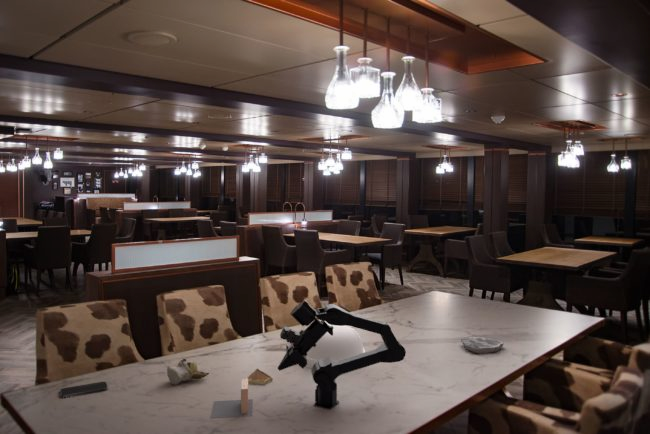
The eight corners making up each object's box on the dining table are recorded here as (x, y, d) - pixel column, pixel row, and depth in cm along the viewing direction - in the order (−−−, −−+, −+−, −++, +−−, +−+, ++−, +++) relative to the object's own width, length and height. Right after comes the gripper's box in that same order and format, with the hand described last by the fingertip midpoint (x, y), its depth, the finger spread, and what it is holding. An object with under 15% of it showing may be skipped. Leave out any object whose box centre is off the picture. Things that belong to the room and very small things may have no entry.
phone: (107, 388, 179) (60, 396, 172) (107, 391, 179) (60, 399, 172) (105, 381, 186) (60, 388, 179) (105, 384, 186) (60, 391, 179)
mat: (252, 400, 171) (252, 399, 171) (252, 416, 158) (252, 415, 158) (214, 402, 170) (214, 401, 170) (210, 419, 157) (210, 418, 157)
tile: (248, 401, 169) (248, 378, 169) (247, 413, 160) (247, 388, 160) (241, 402, 169) (241, 378, 169) (241, 413, 160) (240, 389, 160)
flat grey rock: (479, 340, 243) (479, 334, 243) (509, 349, 229) (509, 343, 228) (451, 347, 232) (451, 341, 232) (480, 357, 218) (480, 350, 218)
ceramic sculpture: (160, 358, 187) (195, 352, 198) (159, 381, 187) (194, 374, 198) (175, 365, 180) (211, 358, 191) (174, 390, 180) (209, 381, 191)
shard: (256, 372, 199) (256, 367, 199) (279, 374, 197) (279, 369, 197) (244, 385, 186) (244, 379, 186) (268, 387, 184) (268, 381, 184)
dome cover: (281, 363, 208) (281, 330, 208) (313, 344, 236) (313, 314, 235) (353, 376, 195) (353, 340, 194) (378, 353, 222) (378, 322, 221)
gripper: (292, 312, 175) (260, 344, 174) (296, 326, 156) (261, 362, 155) (315, 333, 176) (283, 366, 175) (321, 350, 158) (286, 386, 157)
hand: (278, 369), depth 165 cm, fingers closed
